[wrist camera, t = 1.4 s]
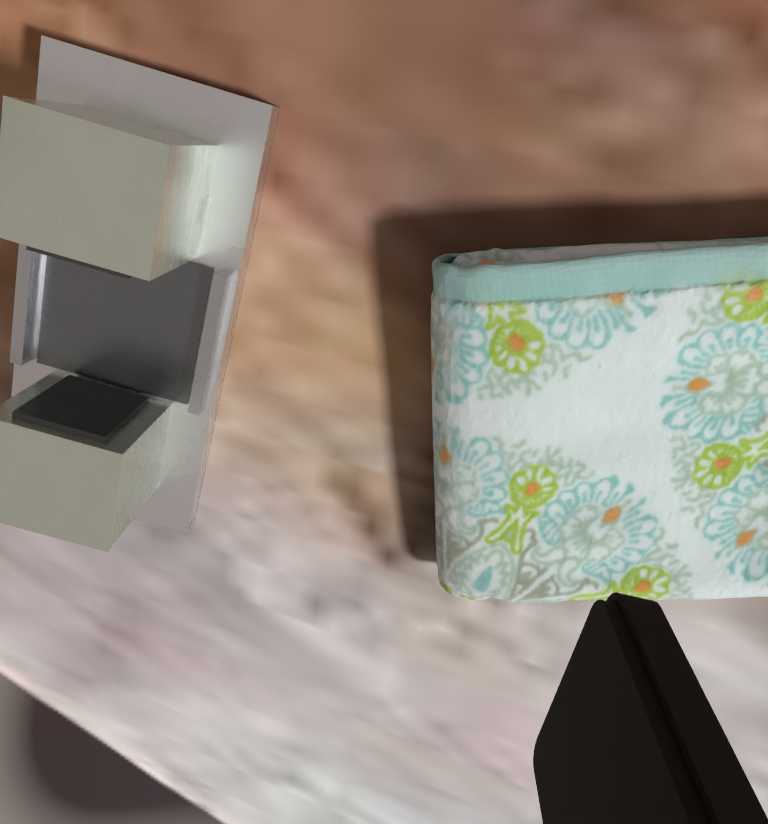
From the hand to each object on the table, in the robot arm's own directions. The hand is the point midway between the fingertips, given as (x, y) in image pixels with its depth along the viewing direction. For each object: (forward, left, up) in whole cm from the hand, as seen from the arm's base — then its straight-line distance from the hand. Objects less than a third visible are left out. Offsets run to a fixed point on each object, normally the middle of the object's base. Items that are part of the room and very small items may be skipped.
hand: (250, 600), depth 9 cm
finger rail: (+5, -11, -25) cm, 28 cm away
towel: (+3, +15, -26) cm, 30 cm away
